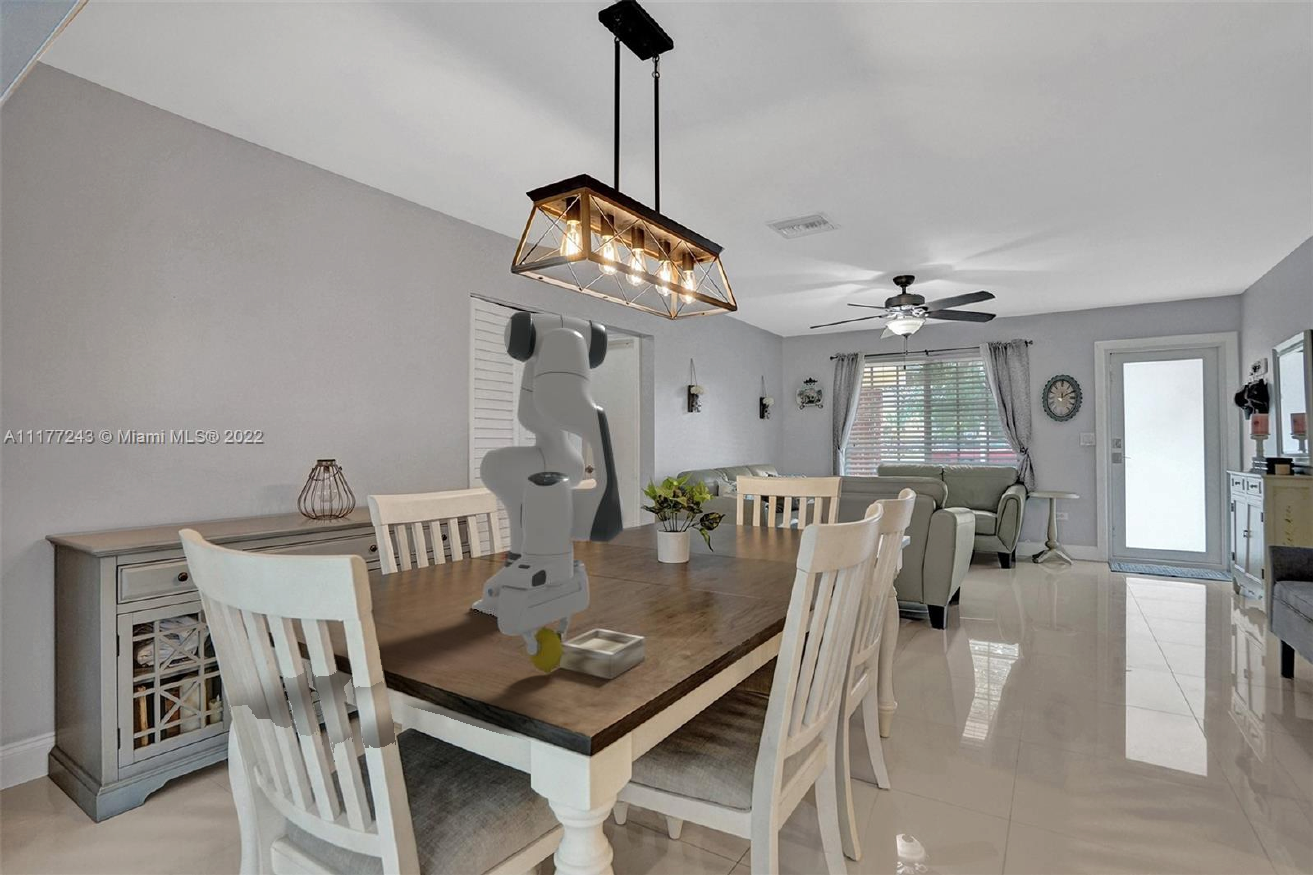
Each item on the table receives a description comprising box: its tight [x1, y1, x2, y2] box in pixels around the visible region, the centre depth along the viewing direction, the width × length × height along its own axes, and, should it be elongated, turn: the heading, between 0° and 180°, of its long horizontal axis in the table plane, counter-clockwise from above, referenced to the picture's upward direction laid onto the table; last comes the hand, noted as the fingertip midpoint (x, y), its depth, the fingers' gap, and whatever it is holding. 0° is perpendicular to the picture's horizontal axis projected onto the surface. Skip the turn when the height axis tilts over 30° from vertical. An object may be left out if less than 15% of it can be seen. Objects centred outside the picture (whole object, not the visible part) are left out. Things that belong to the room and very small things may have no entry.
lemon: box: [529, 626, 562, 674], centre depth 110 cm, size 6×6×8 cm
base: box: [559, 627, 646, 680], centre depth 116 cm, size 11×11×4 cm
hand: (547, 647), depth 109 cm, fingers closed on lemon, 5 cm apart
